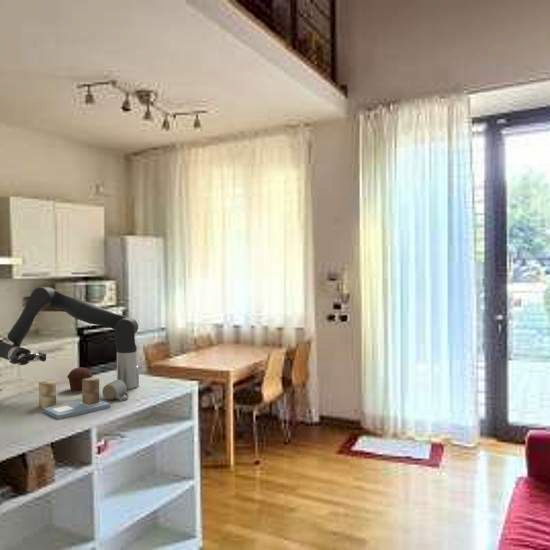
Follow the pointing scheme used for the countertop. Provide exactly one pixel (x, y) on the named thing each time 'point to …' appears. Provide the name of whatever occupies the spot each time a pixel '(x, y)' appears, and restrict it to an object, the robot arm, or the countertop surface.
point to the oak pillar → (47, 394)
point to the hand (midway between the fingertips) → (34, 360)
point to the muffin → (78, 378)
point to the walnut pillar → (90, 391)
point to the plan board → (74, 409)
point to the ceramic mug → (115, 390)
